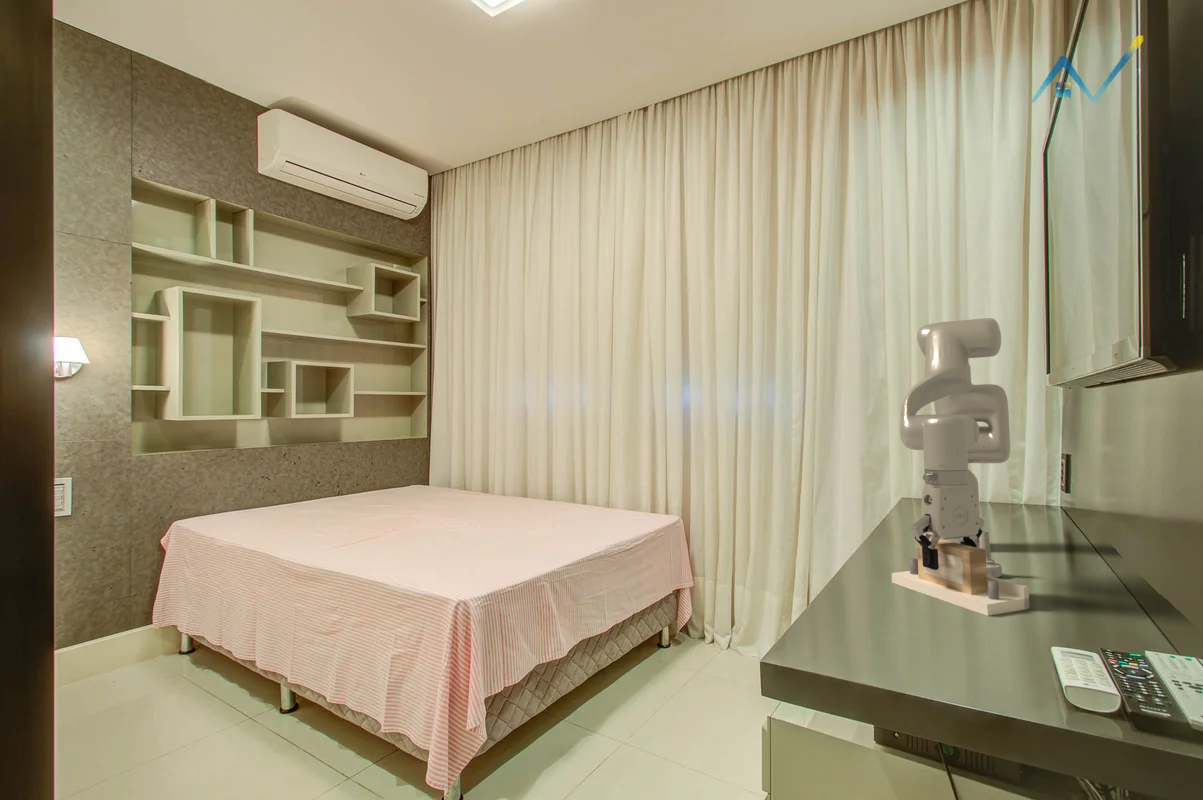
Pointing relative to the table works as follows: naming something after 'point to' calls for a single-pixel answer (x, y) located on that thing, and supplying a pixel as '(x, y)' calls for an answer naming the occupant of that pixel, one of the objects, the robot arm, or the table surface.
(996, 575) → the electronic device
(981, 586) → the tan wooden block
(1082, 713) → the table surface
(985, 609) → the ledge
